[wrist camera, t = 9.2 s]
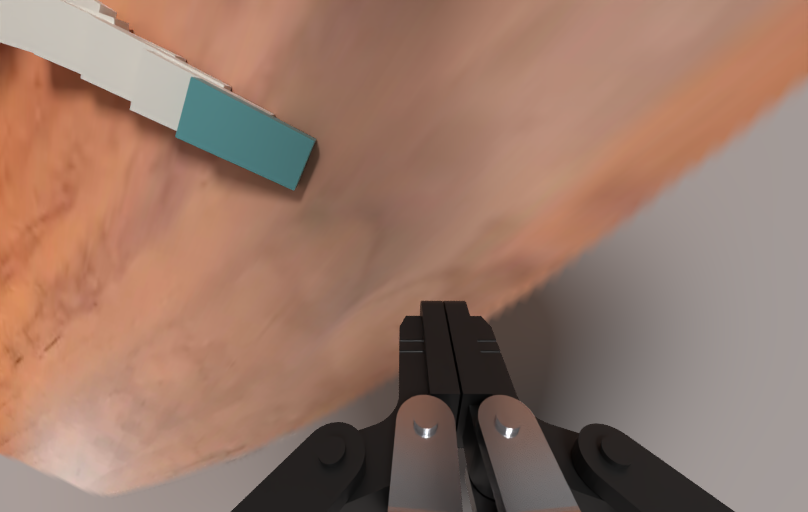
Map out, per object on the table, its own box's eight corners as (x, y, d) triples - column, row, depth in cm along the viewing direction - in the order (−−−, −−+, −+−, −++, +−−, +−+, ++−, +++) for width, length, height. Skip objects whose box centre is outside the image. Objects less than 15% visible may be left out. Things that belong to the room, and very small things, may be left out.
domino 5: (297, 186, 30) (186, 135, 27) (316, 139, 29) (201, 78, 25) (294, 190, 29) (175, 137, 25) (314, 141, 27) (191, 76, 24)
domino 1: (131, 80, 31) (6, 41, 28) (129, 23, 29) (-5, -24, 27) (117, 78, 29) (-17, 37, 27) (114, 17, 27) (-31, -33, 25)
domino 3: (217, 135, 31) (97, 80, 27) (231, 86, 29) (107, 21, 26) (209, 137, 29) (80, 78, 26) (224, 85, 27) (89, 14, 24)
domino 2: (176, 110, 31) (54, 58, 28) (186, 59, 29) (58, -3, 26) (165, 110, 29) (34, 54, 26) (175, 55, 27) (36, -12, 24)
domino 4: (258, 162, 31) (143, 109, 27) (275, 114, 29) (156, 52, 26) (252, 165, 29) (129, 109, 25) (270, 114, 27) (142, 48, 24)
